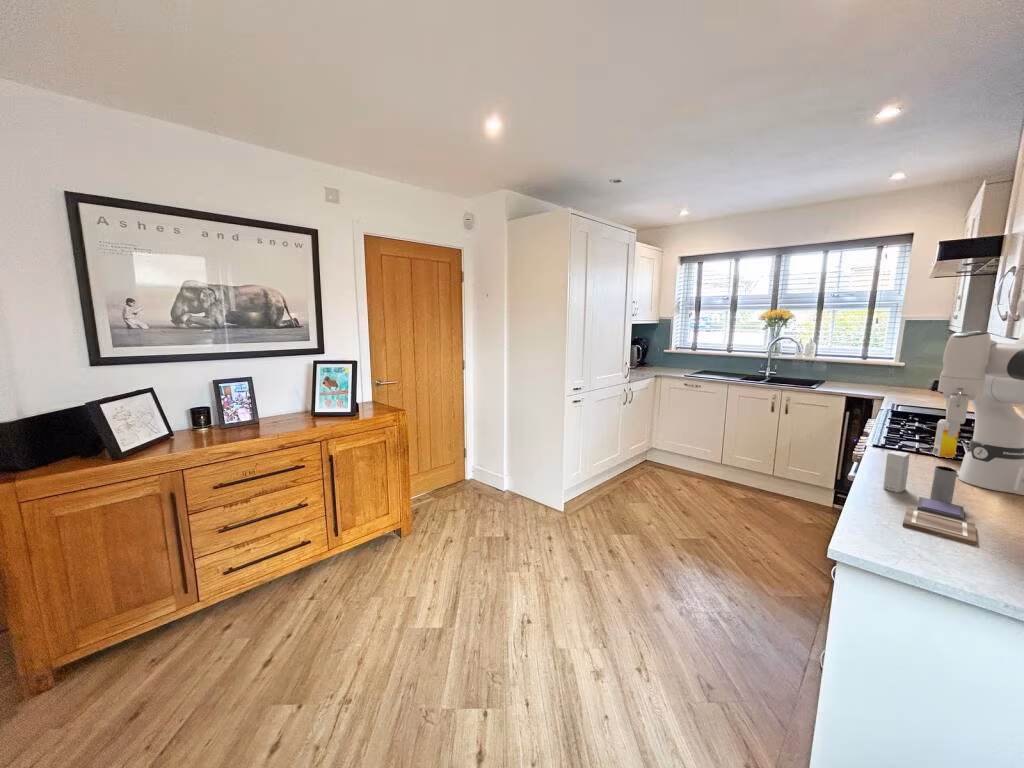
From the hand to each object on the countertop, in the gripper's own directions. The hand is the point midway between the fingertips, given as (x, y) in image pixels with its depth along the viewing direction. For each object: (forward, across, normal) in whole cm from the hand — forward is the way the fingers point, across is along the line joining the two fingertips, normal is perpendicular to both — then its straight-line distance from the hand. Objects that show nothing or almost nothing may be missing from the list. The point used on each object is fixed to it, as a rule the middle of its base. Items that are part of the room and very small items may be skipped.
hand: (952, 433), depth 120 cm
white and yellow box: (+21, +59, 0) cm, 63 cm away
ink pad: (+21, -9, 0) cm, 23 cm away
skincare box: (+22, +2, +10) cm, 24 cm away
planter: (+22, 0, 0) cm, 22 cm away
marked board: (+21, -23, 0) cm, 31 cm away
